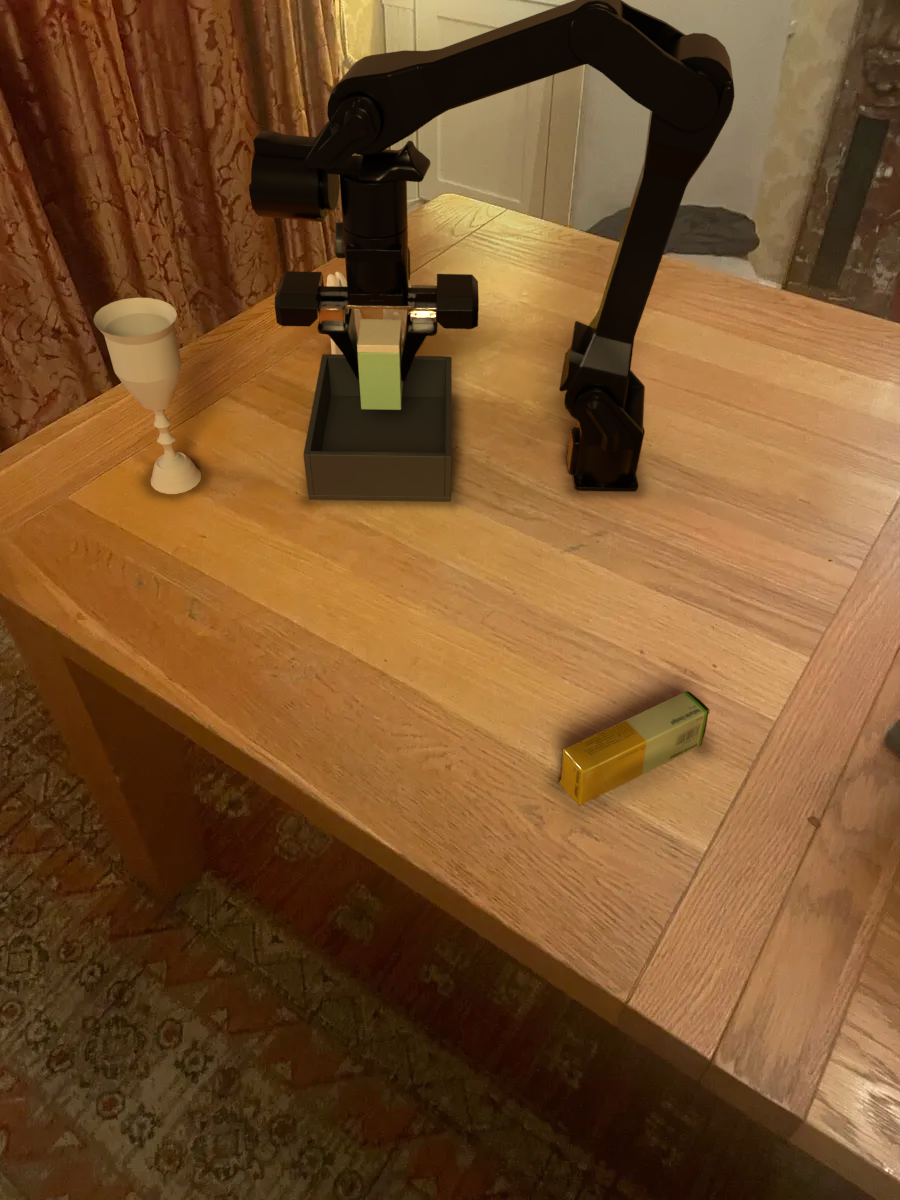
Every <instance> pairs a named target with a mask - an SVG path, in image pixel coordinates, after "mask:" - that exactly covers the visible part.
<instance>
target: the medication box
mask: <svg viewBox="0 0 900 1200" xmlns="http://www.w3.org/2000/svg"><path fill="white" fill-rule="evenodd" d="M710 712H711V709H710V708H709V707H708V706H707V705H706V704H705V703H704V702H703V701H702V700H701V699H699V698H698V697H697V696H696V695H694V693H692V692H691V691H689V690H686V691H684V692H682V693H680V694H678V695H676V696H674V697H671V698H669V699H667V700H664V701H663V702H660V703H658V704H656V705H654V706H652V707H649V708H648V709H646V710H644V711H642V712H640V713H637V714H635V715H633V716H631V717H629V718H627V719H625V720H622V721H620V722H618V723H616V724H614V725H612V726H609V727H608V728H605V729H604V730H601V731H599V732H597V733H595V734H592V735H591V736H588V737H587V738H584V739H582V740H580V741H578V742H576V743H574V744H572V745H570V746H567V747H565V748H563V750H562V761H561V773H560V775H561V779H560V780H559V782H558V783H559V784H558V785H559V786H561V787H562V788H563V790H564V791H565V793H567V795H568V796H569V797H570V798H571V799H572V800H573V801H574V802H575V803H576V804H577V805H578V806H582V805H584V804H586V803H588V802H590V801H592V800H594V799H597V798H599V797H601V796H602V795H605V794H607V793H608V792H611V791H612V790H615V789H616V788H619V787H621V786H623V785H625V784H627V783H630V782H631V781H633V780H635V779H637V778H639V777H641V776H643V775H645V774H647V773H649V772H651V771H653V770H655V769H657V768H660V767H661V766H663V765H665V764H667V763H669V762H671V761H673V760H675V759H677V758H679V757H681V756H683V755H685V754H687V753H689V752H691V751H693V750H696V749H697V748H700V747H702V745H703V744H704V738H705V735H706V729H707V723H708V717H709V715H710Z"/></svg>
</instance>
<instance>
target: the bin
mask: <svg viewBox="0 0 900 1200" xmlns="http://www.w3.org/2000/svg"><path fill="white" fill-rule="evenodd" d="M452 359H453V357H452V356H451V355H449V356H448V355H447V356H445V355H415V357H414V359H413V362H412V364H411V367H410V369H409V372H408V374H407V377H406V379H405V381H403V389H402V403H401V410H376V409H361V398H360V383H359V380H358V379H357V378H356V376H355V374H354V372H353V371H352V369H351V367H350V365H349V363H348V362H347V360H346V358H345V356H344V355H339V354H332V353H329V354H327V353H323V354H321V359H320V364H319V370H318V375H317V379H316V385H315V391H314V396H313V401H312V407H311V412H310V418H309V423H308V428H307V433H306V437H305V442H304V443H305V444H304V448H303V454H302V455H303V464H304V471H305V472H304V473H305V479H306V488H307V496H308V500H312V501H313V500H314V501H372V502H373V501H376V502H377V501H378V502H382V501H383V502H384V501H385V502H440V503H441V502H447V503H449V502H451V493H452V492H451V490H452V409H453V407H452V402H453V401H452V387H453V386H452V385H453V384H452V378H453V377H452V371H453V370H452V368H453V367H452V364H453V363H452Z"/></svg>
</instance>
